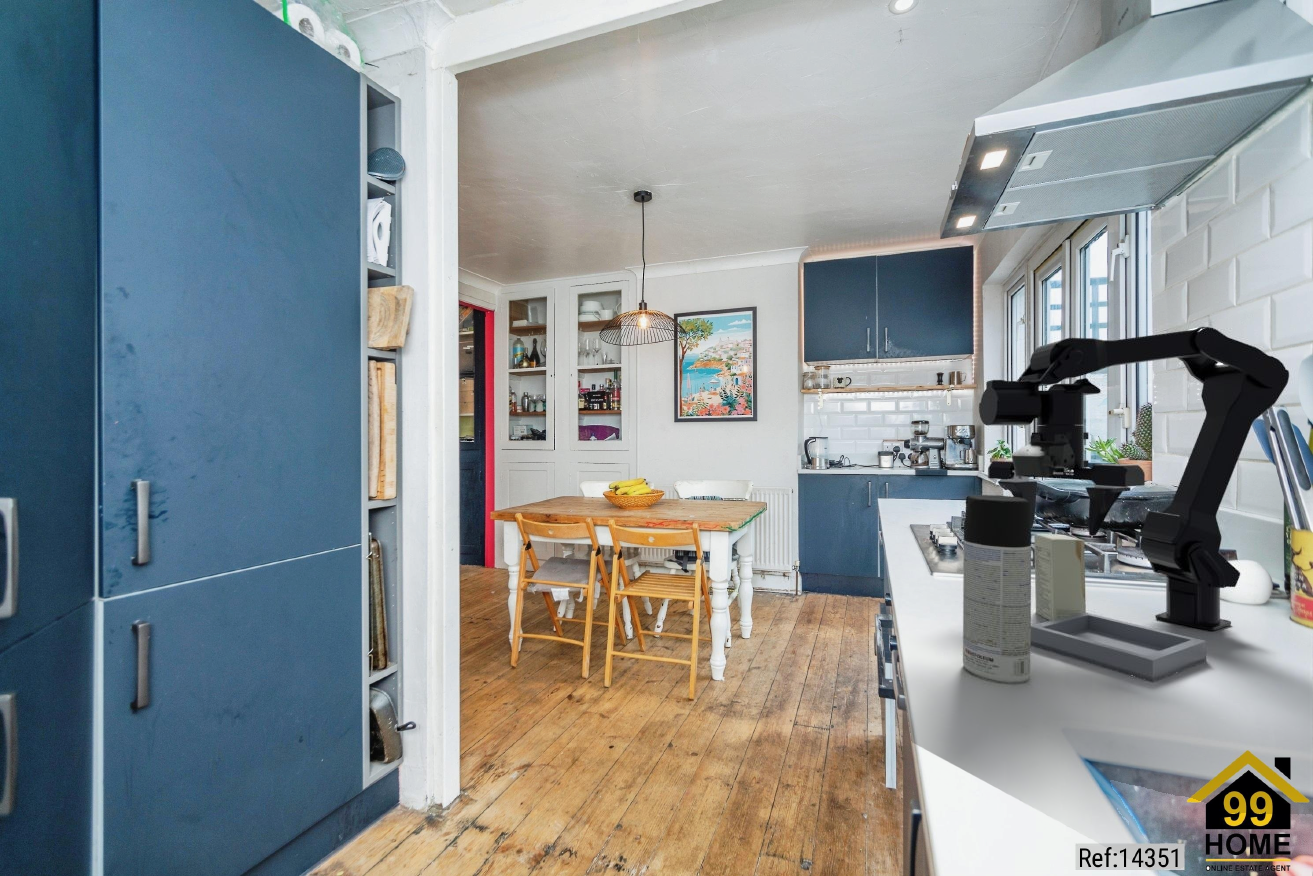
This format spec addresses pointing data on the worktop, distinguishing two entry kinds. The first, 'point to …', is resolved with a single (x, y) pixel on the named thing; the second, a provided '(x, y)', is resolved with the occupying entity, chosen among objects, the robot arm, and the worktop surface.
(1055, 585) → the skincare box
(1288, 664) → the worktop surface
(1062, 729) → the worktop surface
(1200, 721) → the worktop surface
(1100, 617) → the tray
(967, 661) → the spray can
